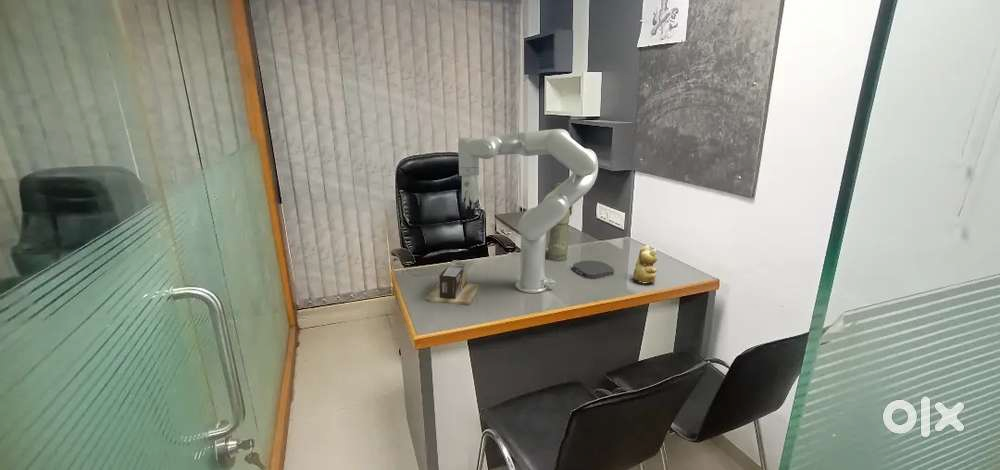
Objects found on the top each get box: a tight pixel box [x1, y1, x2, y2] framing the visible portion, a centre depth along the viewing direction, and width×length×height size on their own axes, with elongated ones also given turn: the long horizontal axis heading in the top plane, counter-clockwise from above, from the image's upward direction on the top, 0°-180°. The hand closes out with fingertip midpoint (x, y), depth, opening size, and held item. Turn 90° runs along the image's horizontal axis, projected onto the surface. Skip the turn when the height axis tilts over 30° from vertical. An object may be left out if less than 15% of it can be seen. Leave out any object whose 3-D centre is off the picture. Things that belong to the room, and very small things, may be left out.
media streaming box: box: [572, 260, 615, 280], centre depth 197 cm, size 15×15×3 cm
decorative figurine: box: [633, 244, 658, 283], centre depth 185 cm, size 10×8×15 cm
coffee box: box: [438, 259, 469, 299], centre depth 173 cm, size 9×6×16 cm
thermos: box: [547, 182, 574, 262], centre depth 208 cm, size 9×12×35 cm
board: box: [426, 282, 480, 306], centre depth 173 cm, size 16×16×1 cm
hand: (470, 218), depth 177 cm, fingers closed
